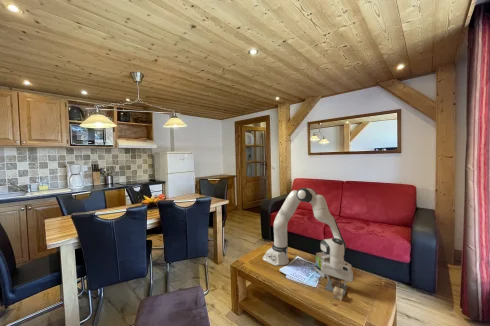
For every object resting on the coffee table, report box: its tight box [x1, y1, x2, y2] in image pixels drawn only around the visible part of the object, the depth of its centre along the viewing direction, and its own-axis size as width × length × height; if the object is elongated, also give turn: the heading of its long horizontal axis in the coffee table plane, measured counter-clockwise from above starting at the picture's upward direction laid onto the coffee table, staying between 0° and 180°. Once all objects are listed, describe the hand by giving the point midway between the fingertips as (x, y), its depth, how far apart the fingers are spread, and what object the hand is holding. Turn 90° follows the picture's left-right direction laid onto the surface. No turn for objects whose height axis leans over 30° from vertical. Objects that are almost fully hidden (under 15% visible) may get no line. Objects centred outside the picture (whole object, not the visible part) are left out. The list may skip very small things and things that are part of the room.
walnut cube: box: [331, 276, 342, 288], centre depth 145 cm, size 5×5×5 cm
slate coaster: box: [324, 279, 348, 297], centre depth 145 cm, size 12×12×1 cm
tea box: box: [314, 251, 330, 278], centre depth 163 cm, size 15×10×15 cm
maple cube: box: [332, 287, 344, 302], centre depth 136 cm, size 5×5×5 cm
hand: (336, 283), depth 145 cm, fingers open, 8 cm apart
